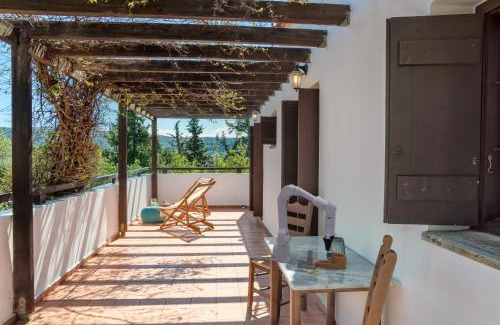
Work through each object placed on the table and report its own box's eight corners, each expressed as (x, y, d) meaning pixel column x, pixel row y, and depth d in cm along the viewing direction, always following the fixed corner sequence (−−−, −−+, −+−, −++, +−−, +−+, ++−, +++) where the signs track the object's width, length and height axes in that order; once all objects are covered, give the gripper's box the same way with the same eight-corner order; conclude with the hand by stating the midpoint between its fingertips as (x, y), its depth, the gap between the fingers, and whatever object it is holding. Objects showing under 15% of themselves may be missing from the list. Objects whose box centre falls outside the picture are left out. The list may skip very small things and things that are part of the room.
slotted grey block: (306, 264, 217) (307, 251, 217) (307, 262, 222) (308, 249, 222) (311, 265, 216) (312, 251, 216) (313, 262, 221) (313, 249, 221)
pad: (307, 273, 208) (307, 272, 208) (308, 270, 214) (308, 269, 214) (318, 274, 206) (318, 274, 206) (320, 271, 212) (320, 270, 212)
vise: (296, 269, 214) (296, 260, 214) (299, 264, 224) (300, 255, 224) (315, 271, 211) (315, 263, 211) (317, 266, 222) (318, 258, 221)
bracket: (344, 266, 227) (344, 254, 227) (347, 270, 219) (348, 258, 218) (312, 264, 228) (313, 252, 227) (314, 268, 219) (315, 255, 219)
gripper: (336, 228, 213) (334, 253, 213) (337, 223, 227) (336, 247, 227) (322, 226, 215) (321, 251, 215) (325, 222, 229) (323, 245, 229)
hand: (328, 249), depth 221 cm, fingers open, 7 cm apart
